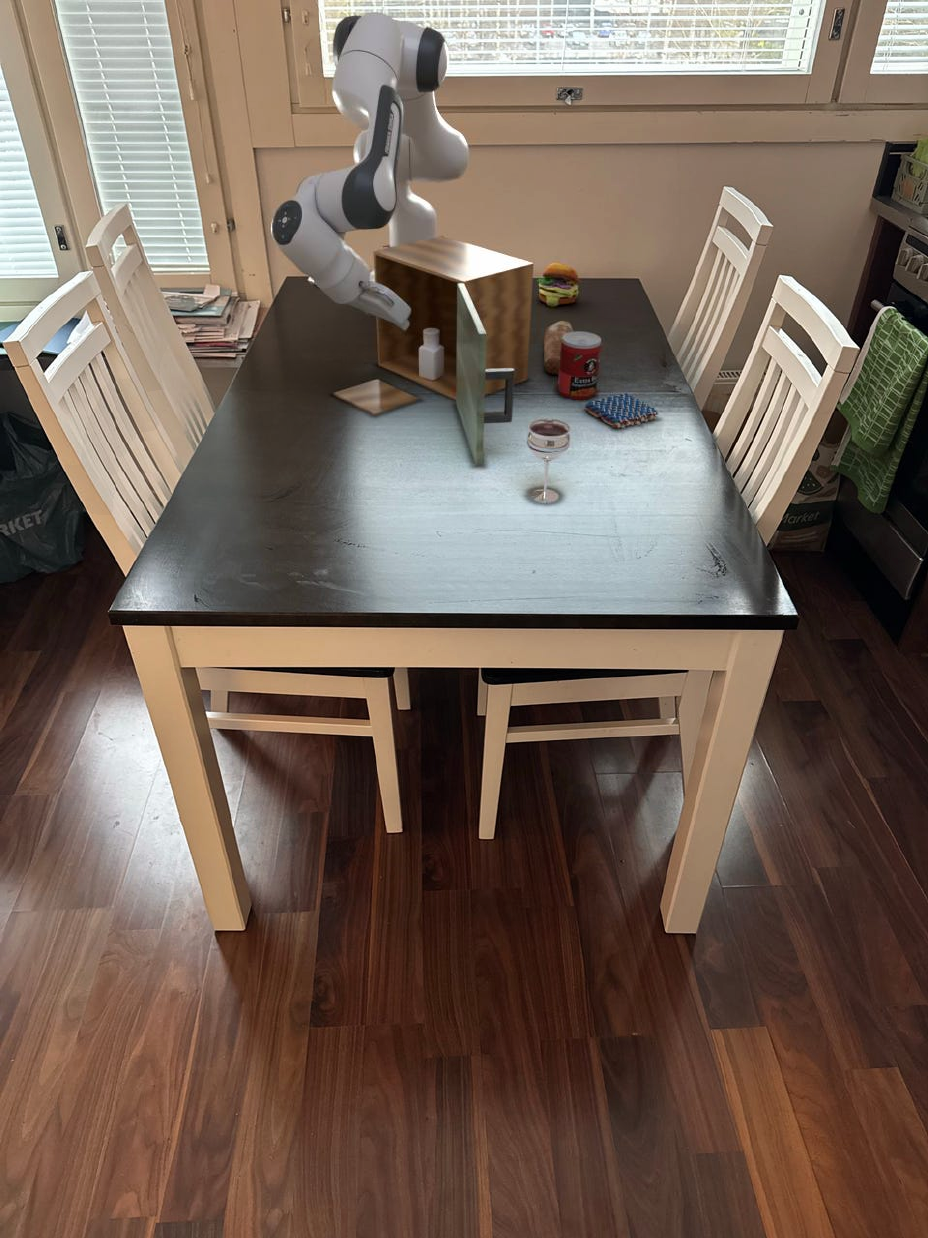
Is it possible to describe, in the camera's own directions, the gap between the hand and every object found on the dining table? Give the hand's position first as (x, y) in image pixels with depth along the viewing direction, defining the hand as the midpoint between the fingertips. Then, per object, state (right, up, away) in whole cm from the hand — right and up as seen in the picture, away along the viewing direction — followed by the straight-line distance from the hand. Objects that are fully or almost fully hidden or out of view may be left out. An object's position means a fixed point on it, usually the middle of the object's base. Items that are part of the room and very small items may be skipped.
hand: (389, 319), depth 174 cm
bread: (+34, -1, +24) cm, 42 cm away
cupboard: (+12, -5, +17) cm, 21 cm away
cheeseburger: (+37, +23, +57) cm, 72 cm away
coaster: (-3, -13, +6) cm, 15 cm away
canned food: (+37, -11, +10) cm, 40 cm away
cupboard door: (+18, -23, -6) cm, 29 cm away
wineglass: (+27, -37, -25) cm, 52 cm away
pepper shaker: (+8, -7, +14) cm, 17 cm away
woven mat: (+44, -18, +1) cm, 48 cm away
